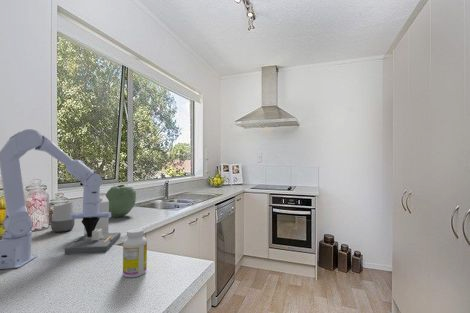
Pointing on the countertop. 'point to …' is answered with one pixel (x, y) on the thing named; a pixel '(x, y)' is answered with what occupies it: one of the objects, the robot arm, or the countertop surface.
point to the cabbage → (121, 200)
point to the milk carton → (102, 208)
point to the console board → (92, 244)
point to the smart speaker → (62, 217)
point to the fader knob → (97, 234)
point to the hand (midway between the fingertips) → (90, 236)
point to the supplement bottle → (134, 253)
